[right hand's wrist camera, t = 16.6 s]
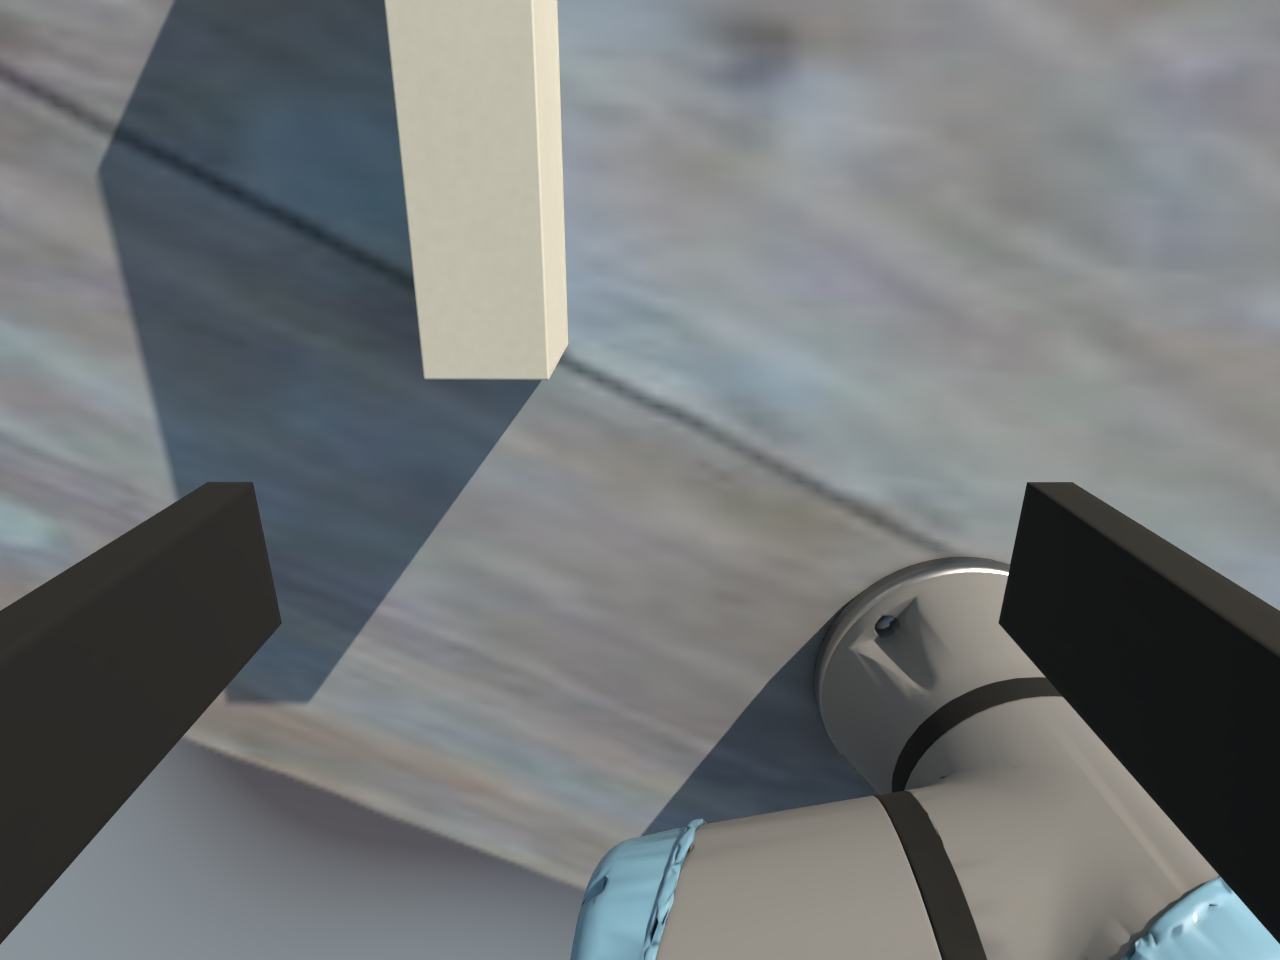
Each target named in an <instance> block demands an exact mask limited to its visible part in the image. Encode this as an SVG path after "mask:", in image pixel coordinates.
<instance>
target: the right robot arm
mask: <svg viewBox="0 0 1280 960" xmlns="http://www.w3.org/2000/svg"><path fill="white" fill-rule="evenodd" d="M280 624H281V618H280V613H279V608H278V603H277V598H276V593H275V588H274V584H273V579H272V574H271V569H270V564H269V559H268V554H267V549H266V545H265V540H264V535H263V530H262V525H261V520H260V515H259V510H258V506H257V501H256V496H255V491H254V486H253V482H207V483H206V484H204V485H203V486H201V487H199V488H198V489H196V490H195V491H193V492H191V493H190V494H188V495H186V496H185V497H183V498H182V499H180V500H178V501H177V502H175V503H174V504H172V505H170V506H169V507H167V508H166V509H164V510H162V511H161V512H159V513H157V514H156V515H154V516H153V517H151V518H149V519H148V520H146V521H145V522H143V523H141V524H140V525H138V526H137V527H135V528H133V529H132V530H130V531H128V532H127V533H125V534H124V535H122V536H120V537H119V538H117V539H116V540H114V541H112V542H111V543H109V544H108V545H106V546H104V547H103V548H101V549H99V550H98V551H96V552H95V553H93V554H91V555H90V556H88V557H87V558H85V559H83V560H82V561H80V562H79V563H77V564H75V565H74V566H72V567H70V568H69V569H67V570H66V571H64V572H62V573H61V574H59V575H58V576H56V577H54V578H53V579H51V580H49V581H48V582H46V583H45V584H43V585H41V586H40V587H38V588H37V589H35V590H33V591H32V592H30V593H29V594H27V595H25V596H24V597H22V598H20V599H19V600H17V601H16V602H14V603H12V604H11V605H9V606H8V607H6V608H4V609H3V610H1V611H0V944H1V943H2V942H3V941H4V940H5V938H6V937H7V936H8V935H9V934H10V933H11V932H12V930H13V929H14V928H15V927H16V926H17V925H18V924H19V922H20V921H21V920H22V919H23V918H24V917H25V916H26V914H27V913H28V912H29V911H30V910H31V909H32V908H33V906H34V905H35V904H36V903H37V902H38V901H39V900H40V898H41V897H42V896H43V895H44V894H45V893H46V892H47V890H48V889H49V888H50V887H51V886H52V885H53V884H54V882H55V881H56V880H57V879H58V878H59V877H60V876H61V875H62V873H63V872H64V871H65V870H66V869H67V868H68V867H69V865H70V864H71V863H72V862H73V861H74V860H75V859H76V857H77V856H78V855H79V854H80V853H81V852H82V851H83V849H84V848H85V847H86V846H87V845H88V844H89V843H90V841H91V840H92V839H93V838H94V837H95V836H96V835H97V833H98V832H99V831H100V830H101V829H102V828H103V827H104V825H105V824H106V823H107V822H108V821H109V820H110V818H111V817H112V816H113V815H114V814H115V813H116V812H117V811H118V809H119V808H120V807H121V806H122V805H123V804H124V803H125V801H126V800H127V799H128V798H129V797H130V796H131V795H132V793H133V792H134V791H135V790H136V789H137V788H138V787H139V785H140V784H141V783H142V782H143V781H144V780H145V779H146V777H147V776H148V775H149V774H150V773H151V772H152V771H153V769H154V768H155V767H156V766H157V765H158V764H159V763H160V761H161V760H162V759H163V758H164V757H165V756H166V755H167V753H168V752H169V751H170V750H171V749H172V748H173V747H174V745H175V744H176V743H177V742H178V741H179V740H180V739H181V738H182V736H183V735H184V734H185V733H186V732H187V731H188V730H189V728H190V727H191V726H192V725H193V724H194V723H195V722H196V720H197V719H198V718H199V717H200V716H201V715H202V714H203V712H204V711H205V710H206V709H207V708H208V707H209V706H210V704H211V703H212V702H213V701H214V700H215V699H216V698H217V696H218V695H219V694H220V693H221V692H222V691H223V690H224V688H225V687H226V686H227V685H228V684H229V683H230V682H231V680H232V679H233V678H234V677H235V676H236V675H237V674H238V672H239V671H240V670H241V669H242V668H243V667H244V666H245V664H246V663H247V662H248V661H249V660H250V659H251V658H252V656H253V655H254V654H255V653H256V652H257V651H258V650H259V648H260V647H261V646H262V645H263V644H264V643H265V642H266V640H267V639H268V638H269V637H270V636H271V635H272V634H273V632H274V631H275V630H276V629H277V628H278V627H279V626H280ZM814 690H815V697H816V702H817V705H818V708H819V711H820V714H821V717H822V720H823V723H824V725H825V728H826V731H827V733H828V735H829V737H830V739H831V741H832V743H833V744H834V746H835V747H836V749H837V750H838V751H839V753H840V754H841V755H842V756H843V757H844V759H845V760H846V761H847V762H848V763H849V764H850V765H851V766H852V767H853V768H854V769H855V770H856V771H858V772H859V773H860V774H861V775H862V777H863V778H864V779H865V780H866V781H867V782H868V783H869V784H870V785H871V787H872V788H873V789H874V790H875V791H876V792H877V793H878V794H879V795H876V796H875V795H874V796H867V797H861V798H855V799H849V800H843V801H837V802H831V803H825V804H819V805H813V806H807V807H801V808H795V809H789V810H783V811H777V812H771V813H765V814H759V815H753V816H747V817H741V818H735V819H729V820H723V821H717V822H711V823H706V821H705V820H703V819H702V818H701V819H695V820H692V821H691V822H690V823H689V824H688V825H687V826H685V827H681V828H677V829H672V830H668V831H663V832H659V833H654V834H650V835H645V836H641V837H637V838H632V839H629V840H626V841H623V842H621V843H620V844H618V845H616V846H615V847H613V848H612V849H611V850H610V851H608V853H607V854H606V855H605V856H604V857H603V858H602V860H601V861H600V862H599V864H598V866H597V867H596V869H595V871H594V872H593V874H592V876H591V879H590V881H589V883H588V886H587V888H586V892H585V895H584V898H583V902H582V906H581V910H580V913H579V917H578V921H577V926H576V931H575V937H574V942H573V948H572V954H571V960H1280V611H1279V610H1277V609H1276V608H1274V607H1272V606H1271V605H1269V604H1268V603H1266V602H1264V601H1263V600H1261V599H1260V598H1258V597H1256V596H1255V595H1253V594H1251V593H1250V592H1248V591H1247V590H1245V589H1243V588H1242V587H1240V586H1239V585H1237V584H1235V583H1234V582H1232V581H1231V580H1229V579H1227V578H1226V577H1224V576H1222V575H1221V574H1219V573H1218V572H1216V571H1214V570H1213V569H1211V568H1210V567H1208V566H1206V565H1205V564H1203V563H1201V562H1200V561H1198V560H1197V559H1195V558H1193V557H1192V556H1190V555H1189V554H1187V553H1185V552H1184V551H1182V550H1181V549H1179V548H1177V547H1176V546H1174V545H1172V544H1171V543H1169V542H1168V541H1166V540H1164V539H1163V538H1161V537H1160V536H1158V535H1156V534H1155V533H1153V532H1152V531H1150V530H1148V529H1147V528H1145V527H1143V526H1142V525H1140V524H1139V523H1137V522H1135V521H1134V520H1132V519H1131V518H1129V517H1127V516H1126V515H1124V514H1123V513H1121V512H1119V511H1118V510H1116V509H1114V508H1113V507H1111V506H1110V505H1108V504H1106V503H1105V502H1103V501H1102V500H1100V499H1098V498H1097V497H1095V496H1094V495H1092V494H1090V493H1089V492H1087V491H1085V490H1084V489H1082V488H1081V487H1079V486H1077V485H1076V484H1074V483H1073V482H1027V486H1026V491H1025V496H1024V501H1023V506H1022V510H1021V515H1020V520H1019V525H1018V530H1017V535H1016V540H1015V545H1014V549H1013V554H1012V559H1011V564H1010V565H1008V564H1005V563H1002V562H998V561H994V560H990V559H983V558H975V557H951V558H942V559H935V560H930V561H926V562H922V563H918V564H915V565H912V566H909V567H906V568H904V569H901V570H899V571H896V572H894V573H892V574H890V575H888V576H886V577H884V578H882V579H881V580H879V581H877V582H876V583H874V584H872V585H871V586H870V587H868V588H867V589H866V590H864V591H863V592H862V593H860V594H859V595H858V596H857V597H856V598H855V599H853V600H852V601H851V602H850V603H849V604H848V605H847V606H846V607H845V609H844V610H843V611H842V612H841V613H840V614H839V616H838V617H837V618H836V619H835V621H834V622H833V624H832V625H831V627H830V629H829V630H828V632H827V634H826V636H825V638H824V640H823V642H822V645H821V647H820V650H819V653H818V656H817V660H816V665H815V671H814Z"/></svg>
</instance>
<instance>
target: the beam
mask: <svg viewBox="0 0 1280 960" xmlns="http://www.w3.org/2000/svg"><path fill="white" fill-rule="evenodd" d="M384 4H385V14H386V24H387V33H388V43H389V52H390V62H391V71H392V81H393V90H394V100H395V109H396V119H397V128H398V138H399V147H400V157H401V166H402V176H403V185H404V195H405V204H406V214H407V223H408V233H409V242H410V252H411V261H412V271H413V281H414V290H415V300H416V309H417V319H418V328H419V338H420V347H421V357H422V366H423V376H424V379H426V380H548V379H549V378H550V376H551V374H552V372H553V371H554V369H555V367H556V365H557V363H558V362H559V360H560V358H561V356H562V354H563V352H564V351H565V349H566V347H567V345H568V328H567V296H566V265H565V233H564V202H563V170H562V139H561V108H560V76H559V45H558V13H557V0H384Z"/></svg>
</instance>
